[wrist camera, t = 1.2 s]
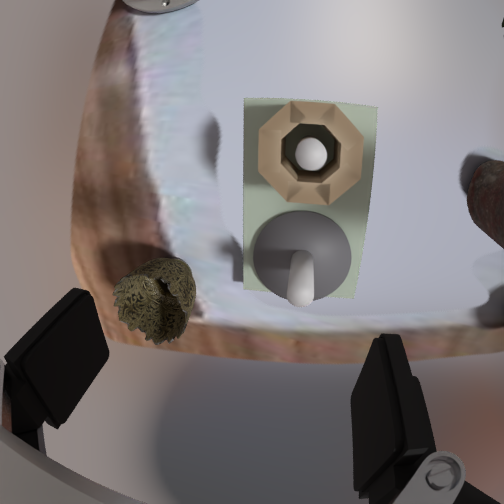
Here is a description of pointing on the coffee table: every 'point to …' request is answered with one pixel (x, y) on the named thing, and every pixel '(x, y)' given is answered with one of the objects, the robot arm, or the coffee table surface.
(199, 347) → the coffee table surface
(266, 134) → the collar
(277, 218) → the hub board
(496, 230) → the brown log
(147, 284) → the fiber plant pot
